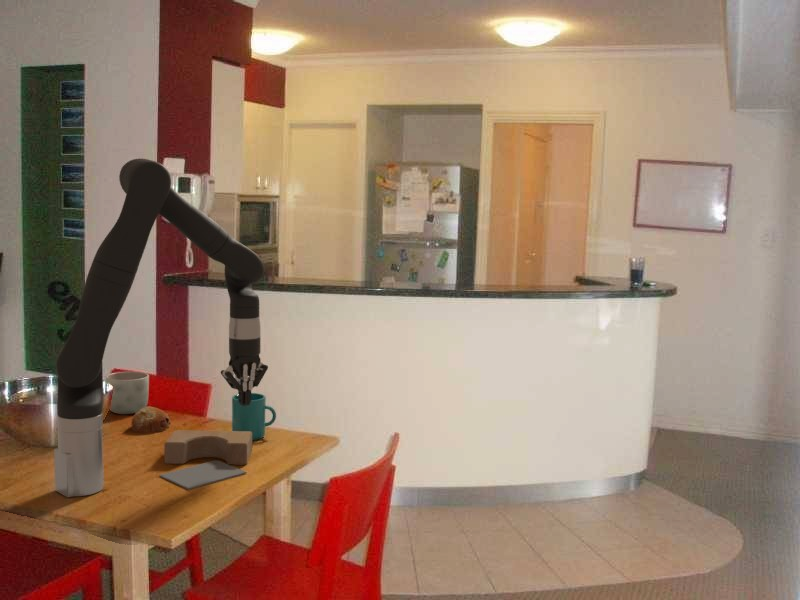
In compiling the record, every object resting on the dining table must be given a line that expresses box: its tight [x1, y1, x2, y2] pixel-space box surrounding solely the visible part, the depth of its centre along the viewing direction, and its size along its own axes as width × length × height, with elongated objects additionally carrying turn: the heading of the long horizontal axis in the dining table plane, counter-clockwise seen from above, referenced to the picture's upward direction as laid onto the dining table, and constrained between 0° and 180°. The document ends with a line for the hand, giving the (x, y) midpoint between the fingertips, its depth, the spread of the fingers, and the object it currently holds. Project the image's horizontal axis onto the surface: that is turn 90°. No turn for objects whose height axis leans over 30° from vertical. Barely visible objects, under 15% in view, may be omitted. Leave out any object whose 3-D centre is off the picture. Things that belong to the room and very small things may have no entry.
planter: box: [105, 371, 150, 415], centre depth 244 cm, size 12×12×11 cm
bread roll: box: [131, 405, 171, 434], centre depth 228 cm, size 10×10×8 cm
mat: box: [159, 459, 247, 491], centre depth 191 cm, size 16×12×1 cm
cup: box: [231, 392, 277, 441], centre depth 222 cm, size 9×12×11 cm
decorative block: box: [163, 429, 253, 466], centre depth 203 cm, size 11×6×20 cm
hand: (244, 405), depth 198 cm, fingers closed
